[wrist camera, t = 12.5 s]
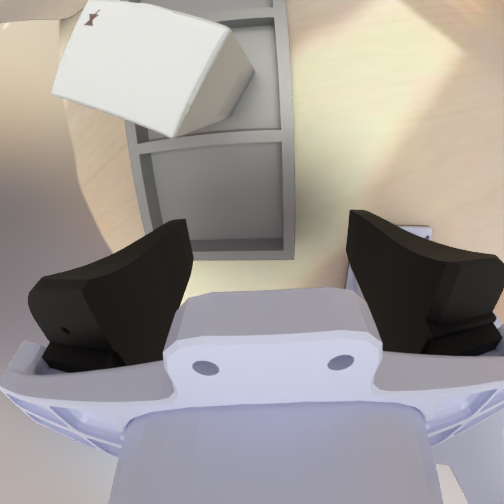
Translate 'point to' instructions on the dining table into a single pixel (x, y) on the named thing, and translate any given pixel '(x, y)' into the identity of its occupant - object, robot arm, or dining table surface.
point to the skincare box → (153, 66)
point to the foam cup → (38, 9)
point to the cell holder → (229, 149)
